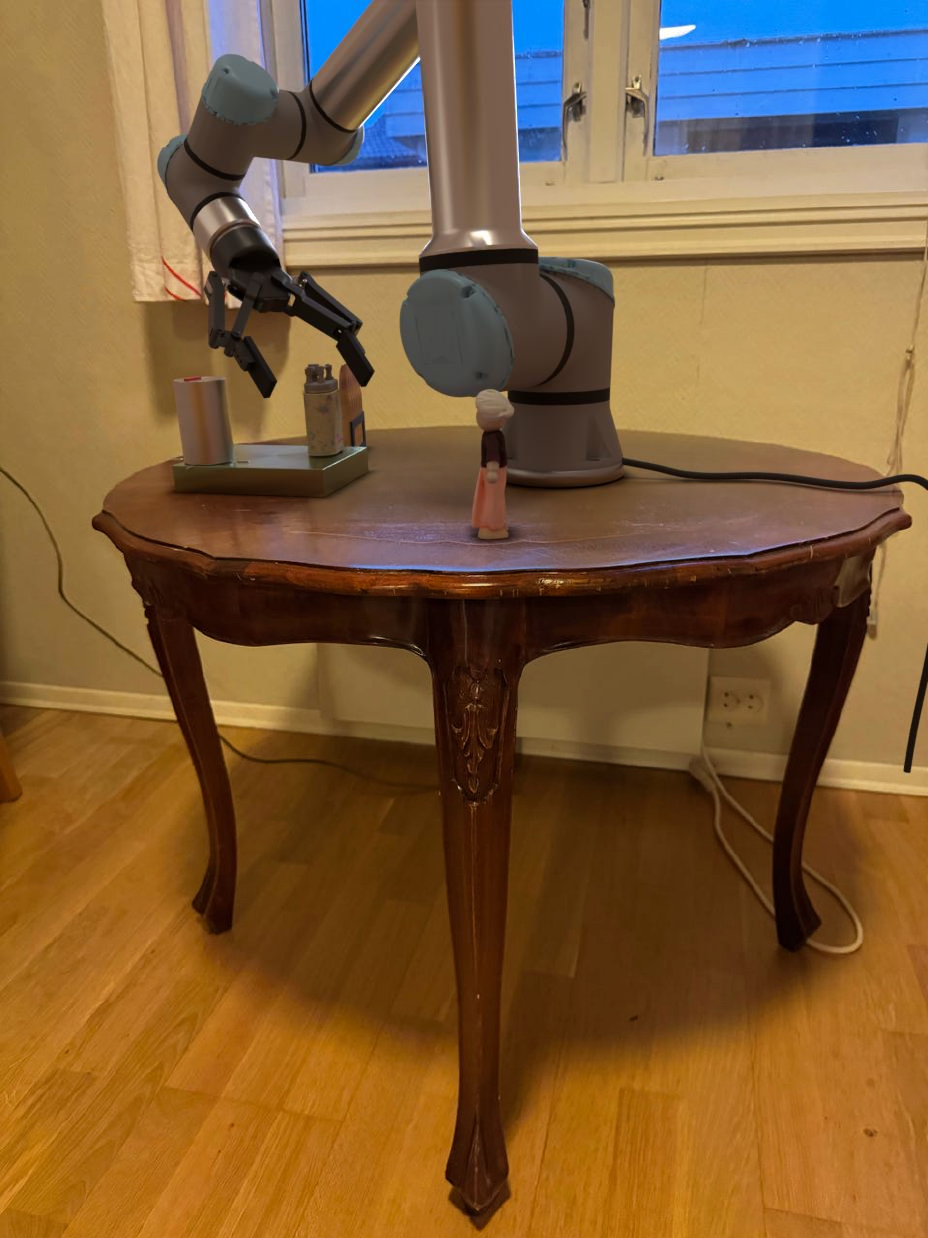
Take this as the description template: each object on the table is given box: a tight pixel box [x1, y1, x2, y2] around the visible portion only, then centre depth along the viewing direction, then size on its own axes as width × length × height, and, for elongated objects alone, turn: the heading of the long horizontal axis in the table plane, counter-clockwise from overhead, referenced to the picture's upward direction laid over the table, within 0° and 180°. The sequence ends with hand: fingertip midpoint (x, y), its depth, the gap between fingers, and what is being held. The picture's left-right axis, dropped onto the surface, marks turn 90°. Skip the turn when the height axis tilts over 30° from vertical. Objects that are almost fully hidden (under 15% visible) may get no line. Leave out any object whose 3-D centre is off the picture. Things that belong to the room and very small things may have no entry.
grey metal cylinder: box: [172, 375, 235, 465], centre depth 98 cm, size 6×6×9 cm
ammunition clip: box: [338, 363, 368, 448], centre depth 116 cm, size 11×2×12 cm, turn 178°
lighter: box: [302, 363, 344, 456], centre depth 102 cm, size 7×4×10 cm, turn 176°
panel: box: [169, 443, 370, 498], centre depth 102 cm, size 20×16×3 cm
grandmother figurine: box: [470, 389, 514, 540], centre depth 76 cm, size 8×4×13 cm, turn 5°
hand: (321, 384), depth 101 cm, fingers open, 13 cm apart
